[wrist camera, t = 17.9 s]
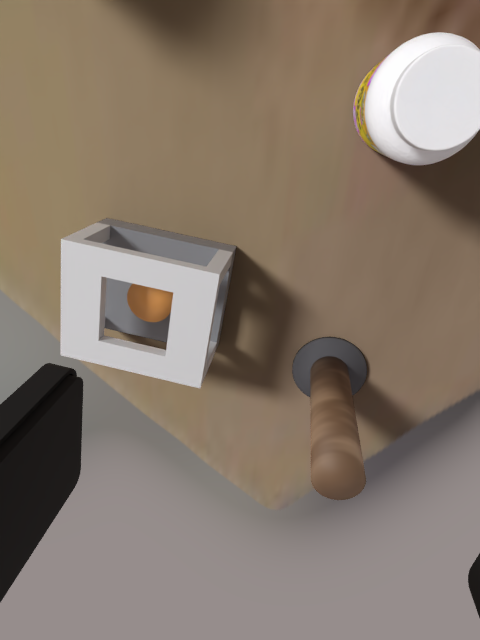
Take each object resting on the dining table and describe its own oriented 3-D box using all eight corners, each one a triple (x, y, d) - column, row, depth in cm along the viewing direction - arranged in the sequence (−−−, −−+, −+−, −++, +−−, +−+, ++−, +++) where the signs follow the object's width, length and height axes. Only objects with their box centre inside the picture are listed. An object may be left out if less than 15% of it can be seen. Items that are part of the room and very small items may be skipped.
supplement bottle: (378, 40, 31) (419, -10, 20) (463, 77, 31) (554, 49, 20) (336, 135, 34) (350, 141, 22) (414, 168, 34) (468, 191, 23)
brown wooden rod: (353, 361, 41) (372, 466, 29) (342, 392, 43) (356, 505, 30) (315, 352, 41) (318, 453, 29) (306, 383, 43) (305, 492, 30)
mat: (375, 346, 41) (376, 348, 40) (354, 406, 44) (354, 409, 43) (302, 329, 41) (302, 331, 41) (285, 390, 44) (285, 392, 44)
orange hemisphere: (181, 276, 38) (175, 284, 36) (176, 317, 40) (169, 326, 38) (137, 266, 38) (128, 273, 36) (133, 307, 40) (125, 316, 38)
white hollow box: (236, 246, 39) (219, 274, 31) (218, 343, 43) (200, 388, 36) (106, 218, 39) (61, 239, 32) (101, 316, 44) (60, 355, 36)
